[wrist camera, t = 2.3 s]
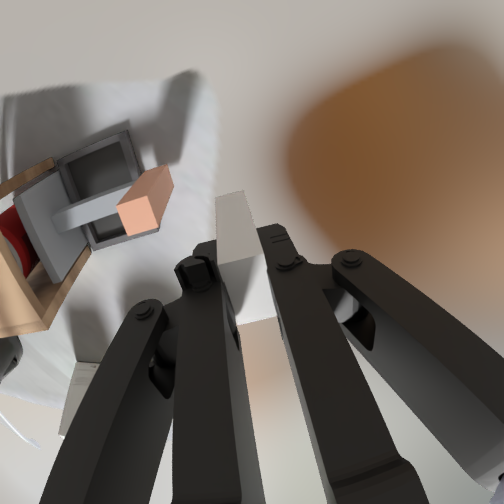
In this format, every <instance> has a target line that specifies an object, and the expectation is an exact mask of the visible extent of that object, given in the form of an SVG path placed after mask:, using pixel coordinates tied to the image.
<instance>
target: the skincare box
mask: <svg viewBox="0 0 504 504" xmlns="http://www.w3.org/2000/svg"><path fill="white" fill-rule="evenodd" d="M99 365H100V363H85V362H76V364H75V368H74V371H73V375H72V378H71V382H70V386H69V390H68V394H67V398H66V402H65V406H64V410H63V415H62V419H61V425H60V429H59V433H58V435H59V436H60V437H62V438H63V439H64V438H65V436H66V434H67V431H68V429H69V427H70V425H71V422H72V420H73V418H74V416H75V414H76V411H77V409H78V407H79V405H80V403H81V401H82V399H83V397H84V395H85V393H86V391H87V389H88V387H89V385H90V383H91V381H92V379H93V377H94V375H95V373H96V371H97V369H98V367H99Z"/></svg>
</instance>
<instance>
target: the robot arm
mask: <svg viewBox="0 0 504 504" xmlns="http://www.w3.org/2000/svg"><path fill="white" fill-rule="evenodd" d="M215 206H216V240H211V241H208V242H204V243H200V244H198V245H197V246H196V247H195V249H194V250H193V255H192V256H189V257H187V258H185V259H183V260H181V261H180V262H179V263H178V264H177V265H176V267H175V269H174V271H175V273H176V276H177V278H178V280H179V283H180V285H181V288H182V290H183V291H182V297H180V298H179V299H177V300H175V301H174V302H172V303H169V304H167V305H165V306H163V305H162V303H161V302H160V301H158V300H156V299H148V300H144V301H142V302H139V303H138V304H136V305H135V306H134V307H132V309H131V310H130V311H129V312H128V314H127V316H126V317H125V319H124V321H123V323H122V324H121V326H120V328H119V330H118V332H117V333H116V335H115V337H114V339H113V341H112V342H111V344H110V346H109V348H108V350H107V352H106V354H105V355H104V357H103V359H102V361H101V363H100V365H99V367H98V369H97V371H96V373H95V375H94V377H93V379H92V381H91V383H90V385H89V387H88V389H87V391H86V393H85V395H84V397H83V399H82V401H81V403H80V405H79V407H78V409H77V411H76V414H75V416H74V418H73V420H72V422H71V425H70V427H69V429H68V431H67V434H66V436H65V438H64V440H63V443H62V445H61V447H60V450H59V452H58V455H57V457H56V460H55V462H54V465H53V467H52V470H51V472H50V475H49V477H48V480H47V483H46V486H45V488H44V491H43V494H42V497H41V500H40V502H39V504H149V501H150V497H151V493H152V490H153V486H154V482H155V479H156V475H157V472H158V468H159V464H160V461H161V457H162V454H163V450H164V447H165V443H166V440H167V437H168V433H169V430H170V426H171V423H172V420H173V444H172V484H173V498H172V502H171V504H266V502H265V497H264V491H263V485H262V479H261V473H260V468H259V461H258V455H257V449H256V442H255V436H254V430H253V423H252V418H251V411H250V404H249V397H248V390H247V384H246V377H245V370H244V363H243V356H242V348H241V341H240V335H239V332H238V329H237V326H236V321H237V324H238V325H241V324H246V323H249V322H254V321H258V320H262V319H267V318H270V317H274V316H277V317H278V322H279V326H280V331H281V336H282V340H283V341H284V344H285V348H286V352H287V355H288V359H289V363H290V366H291V370H292V373H293V377H294V380H295V384H296V388H297V392H298V395H299V399H300V403H301V406H302V410H303V414H304V417H305V421H306V425H307V428H308V432H309V436H310V439H311V443H312V447H313V450H314V454H315V458H316V462H317V465H318V469H319V473H320V477H321V480H322V484H323V488H324V492H325V495H326V499H327V504H429V501H428V499H427V496H426V494H425V491H424V488H423V486H422V483H421V481H420V478H419V476H418V474H417V472H416V470H415V468H414V467H413V466H412V464H411V463H410V462H409V461H407V460H406V459H404V458H402V457H401V456H400V454H399V453H398V451H397V449H396V447H395V445H394V442H393V440H392V437H391V435H390V433H389V430H388V428H387V426H386V423H385V421H384V419H383V417H382V414H381V412H380V410H379V408H378V405H377V403H376V401H375V398H374V396H373V394H372V392H371V390H370V387H369V385H368V383H367V381H366V379H365V377H364V375H363V372H362V370H361V368H360V366H359V364H358V362H357V359H356V357H355V355H354V353H353V351H352V349H351V347H350V345H349V343H348V341H347V339H348V340H349V341H350V342H351V343H352V344H353V346H354V347H355V348H356V349H357V350H358V351H359V352H360V353H361V354H362V355H363V357H364V358H365V359H366V360H367V361H368V362H369V363H370V364H371V365H372V366H373V368H374V369H375V370H376V371H377V372H378V373H379V374H380V375H381V377H382V378H383V379H384V380H385V381H386V382H387V383H388V384H389V385H390V387H391V388H392V389H393V390H394V391H395V392H396V393H397V395H398V396H399V397H400V398H401V399H402V400H403V401H404V402H405V403H406V405H407V406H408V407H409V408H410V409H411V410H412V411H413V413H414V414H415V415H416V416H417V417H418V418H419V419H420V420H421V421H422V423H423V424H424V425H425V426H426V427H427V428H428V430H429V431H430V432H431V433H432V434H433V435H434V436H435V438H436V439H437V440H438V441H439V442H440V443H441V444H442V446H443V447H444V448H445V449H446V450H447V451H448V452H449V453H450V455H451V456H452V457H453V458H454V459H455V460H456V462H457V463H458V464H459V465H460V466H461V467H462V469H463V470H464V471H465V472H466V473H467V474H468V475H469V476H470V477H471V478H472V479H473V480H474V481H476V482H477V483H478V484H480V485H481V486H482V487H484V488H485V489H487V490H489V491H491V492H493V493H495V494H494V496H493V497H492V498H491V500H490V503H489V504H504V358H503V357H502V356H501V355H499V354H498V353H497V352H496V351H495V350H494V349H492V348H491V347H490V346H489V345H487V343H485V342H484V341H483V340H482V339H481V338H479V337H478V336H477V335H476V334H475V333H473V332H472V331H471V330H470V329H468V328H467V327H466V326H465V325H463V324H462V323H461V322H460V321H458V320H457V319H456V318H455V317H453V316H452V315H451V314H450V313H448V312H447V311H446V310H445V309H443V308H442V307H440V306H439V305H438V304H436V303H435V302H434V301H433V300H431V299H430V298H429V297H427V296H426V295H425V294H424V293H422V292H421V291H419V290H418V289H417V288H415V287H414V286H413V285H411V284H410V283H409V282H407V281H406V280H405V279H403V278H402V277H400V276H399V275H398V274H396V273H395V272H393V271H392V270H391V269H389V268H388V267H386V266H385V265H384V264H382V263H381V262H379V261H378V260H376V259H375V258H373V257H372V256H371V255H369V254H367V253H365V252H364V251H361V250H355V249H351V250H344V251H341V252H339V253H337V254H335V255H334V256H333V258H332V260H331V262H332V263H331V264H311V263H308V262H307V260H306V259H305V258H304V257H303V256H301V255H299V254H298V252H297V251H296V248H295V247H294V244H293V242H292V241H291V239H290V237H289V235H288V233H287V231H286V229H285V227H283V226H281V225H279V224H278V223H277V224H273V225H268V226H264V227H260V228H256V227H255V224H254V221H253V219H252V215H251V212H250V209H249V206H248V202H247V199H246V196H245V193H244V191H243V190H242V191H238V192H234V193H230V194H226V195H223V196H218V197H215ZM346 338H347V339H346ZM22 354H23V351H22V347H21V344H20V342H19V340H18V338H17V336H10V337H4V338H0V383H1V381H2V380H3V379H4V378H5V377H6V376H7V375H8V374H9V373H10V372H11V371H12V370H13V369H14V368H15V367H16V366H17V365H18V364H19V361H20V359H21V357H22ZM151 359H152V360H151Z"/></svg>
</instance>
